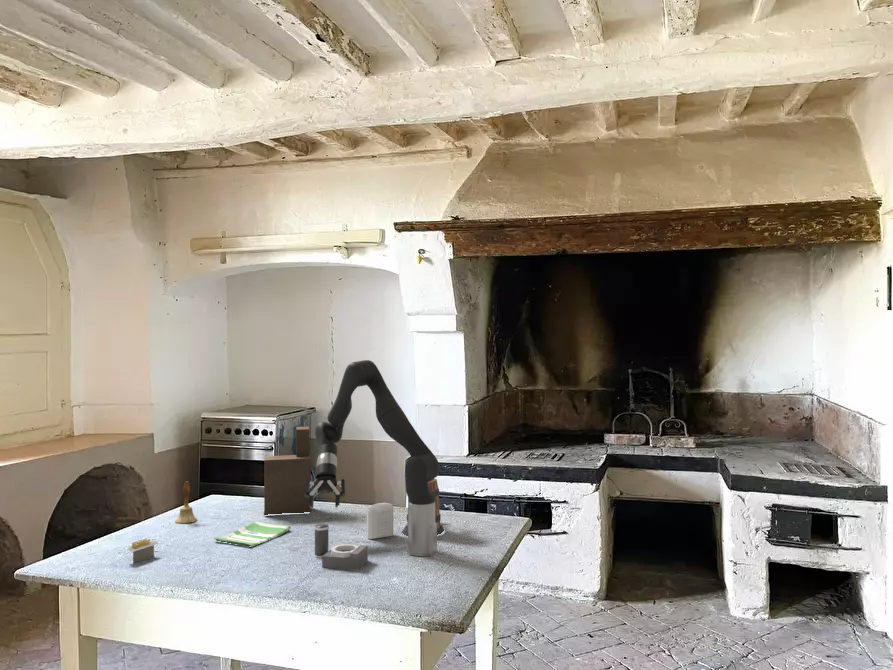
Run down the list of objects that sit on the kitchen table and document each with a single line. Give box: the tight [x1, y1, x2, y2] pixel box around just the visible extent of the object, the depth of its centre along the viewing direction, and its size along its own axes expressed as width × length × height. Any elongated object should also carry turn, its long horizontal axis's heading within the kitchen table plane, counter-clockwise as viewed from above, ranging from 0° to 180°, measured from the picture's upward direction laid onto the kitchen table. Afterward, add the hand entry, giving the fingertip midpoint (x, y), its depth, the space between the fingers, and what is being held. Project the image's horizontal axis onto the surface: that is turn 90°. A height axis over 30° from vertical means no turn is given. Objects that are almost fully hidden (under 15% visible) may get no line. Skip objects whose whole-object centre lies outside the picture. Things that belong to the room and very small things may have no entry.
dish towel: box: [214, 521, 292, 548], centre depth 242 cm, size 18×23×3 cm
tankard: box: [401, 478, 445, 537], centre depth 250 cm, size 24×17×20 cm
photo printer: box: [366, 502, 394, 540], centre depth 241 cm, size 10×4×12 cm, turn 123°
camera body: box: [321, 543, 369, 571], centre depth 211 cm, size 12×9×5 cm
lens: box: [313, 523, 330, 559], centre depth 220 cm, size 5×5×10 cm
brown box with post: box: [263, 426, 312, 516], centre depth 279 cm, size 19×14×35 cm
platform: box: [127, 537, 159, 564], centre depth 217 cm, size 12×18×7 cm, turn 154°
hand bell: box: [175, 480, 198, 525], centre depth 264 cm, size 8×8×16 cm
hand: (324, 506), depth 230 cm, fingers open, 8 cm apart
